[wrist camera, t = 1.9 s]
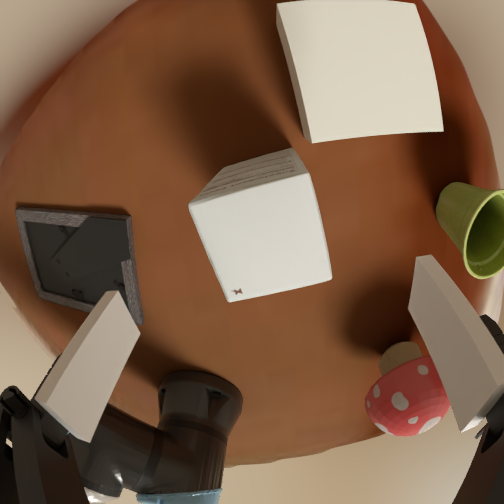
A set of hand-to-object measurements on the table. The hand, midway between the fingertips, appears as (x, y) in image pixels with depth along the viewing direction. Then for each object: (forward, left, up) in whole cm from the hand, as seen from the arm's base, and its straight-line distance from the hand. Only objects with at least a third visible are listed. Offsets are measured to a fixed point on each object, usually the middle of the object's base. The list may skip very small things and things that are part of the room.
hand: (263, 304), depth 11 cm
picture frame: (-28, -5, -19) cm, 34 cm away
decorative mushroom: (+16, -26, -18) cm, 36 cm away
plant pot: (+22, -4, -18) cm, 29 cm away
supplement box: (0, 0, -18) cm, 18 cm away
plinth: (+10, +11, -19) cm, 24 cm away
